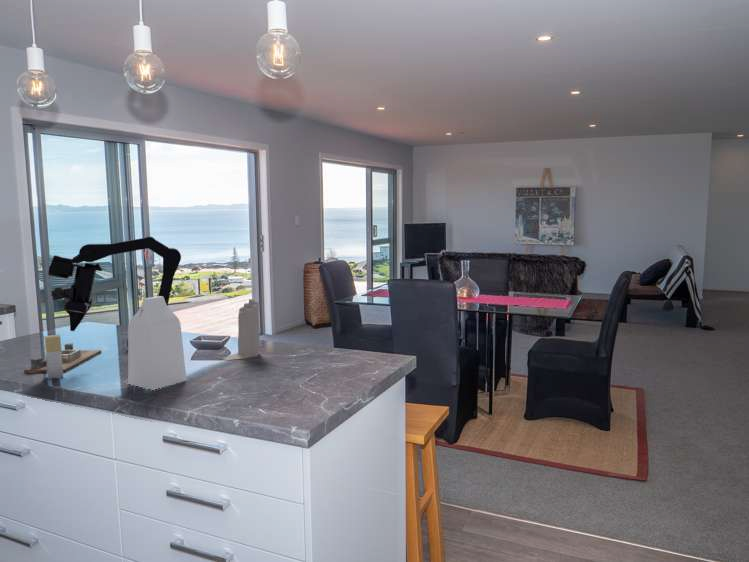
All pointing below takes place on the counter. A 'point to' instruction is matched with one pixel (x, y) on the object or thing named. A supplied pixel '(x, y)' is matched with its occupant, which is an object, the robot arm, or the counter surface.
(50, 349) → the block
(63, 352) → the shaft board
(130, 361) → the milk
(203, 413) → the counter surface
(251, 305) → the grey stepped bookend
